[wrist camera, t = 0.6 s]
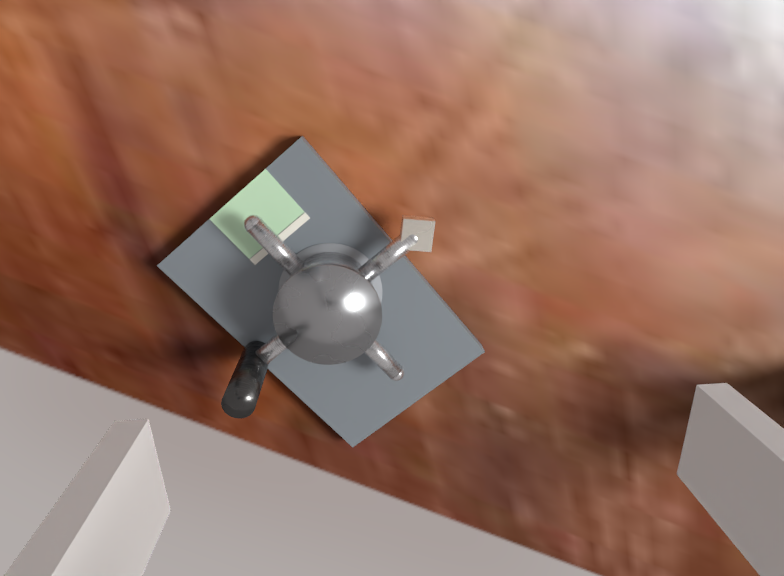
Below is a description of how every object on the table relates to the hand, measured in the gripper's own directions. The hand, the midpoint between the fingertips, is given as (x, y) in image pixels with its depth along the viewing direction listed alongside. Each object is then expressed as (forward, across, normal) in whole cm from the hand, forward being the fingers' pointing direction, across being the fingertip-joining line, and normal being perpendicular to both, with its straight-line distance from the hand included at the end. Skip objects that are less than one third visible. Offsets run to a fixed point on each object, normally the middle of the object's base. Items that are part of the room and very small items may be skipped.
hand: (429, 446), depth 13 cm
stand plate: (+24, -4, -7) cm, 26 cm away
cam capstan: (+23, -4, -5) cm, 24 cm away
